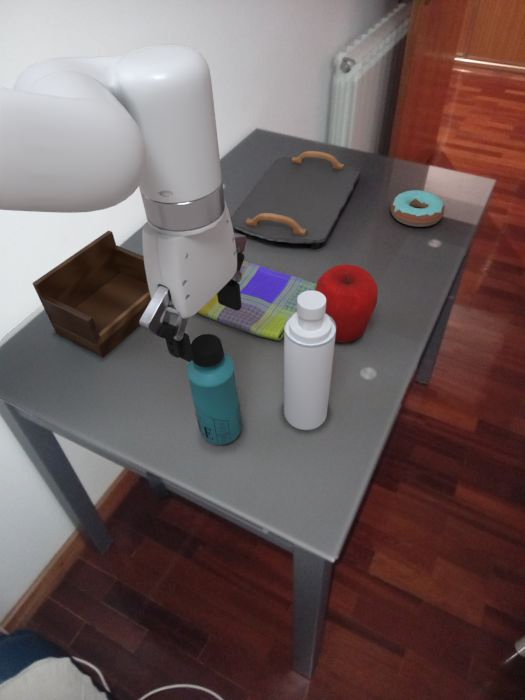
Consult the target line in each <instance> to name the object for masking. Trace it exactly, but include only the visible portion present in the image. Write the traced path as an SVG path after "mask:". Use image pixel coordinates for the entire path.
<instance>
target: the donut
mask: <svg viewBox="0 0 525 700" xmlns="http://www.w3.org/2000/svg"><path fill="white" fill-rule="evenodd" d="M390 212H391V216H393V218H394V219H396V221H397V222H399V223H401V224H403V225H405V226H409V227H412V228H413V227H414V228H425V227H430V226H433V225H435V224H437V223H438V222H440V221H441V219H442V218H443V217H444V215H445V205H444V202H443V200H442V199H441V198H440V197H439V196H437V195H436V194H435V193H432V192H429V191H426V190H419V189H411V190H406V191H403V192H400V193H398V194H397V195H396V196H395V197H394V198H393V199H392V201H391V203H390Z"/></svg>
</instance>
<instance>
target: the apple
mask: <svg viewBox="0 0 525 700" xmlns="http://www.w3.org/2000/svg"><path fill="white" fill-rule="evenodd" d="M316 284H317V286H316V290H315V291H318V292H320V293H322V294H323V295H324V296H325V297H326V311H325V313H326V314H328V315H329V316H330V317H331V318H332V319H333V320H334V322H335V324H336V335H335V342H337V343H349V342H353V341H356V340H357V339H359V338H360V337H362V336H363V334H364V333H365V332H366V330H367V328H368V325H369V324H370V320H371V318H372V315H373V313H374V310H375V308H376V306H377V303H378V295H379V290H378V284H377V282H376V281H375V280H374V278H373V276H372V275H371V273H369V272H368V271H367V270H366V269H365V268H363V267H361V266H358V265H354V264H346V263H345V264H344V263H342V264H337V265H333V267H331V268H328V269H327V270H326V271H325V272H324V273H322V274H321V276H320V277H319V278H318V279H317V282H316ZM330 320H331V319H330ZM331 321H332V320H331ZM332 322H333V321H332Z"/></svg>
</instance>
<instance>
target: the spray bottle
mask: <svg viewBox="0 0 525 700" xmlns="http://www.w3.org/2000/svg"><path fill="white" fill-rule="evenodd" d="M325 311H326V297H325V296H324V295H323V294H322V293H320V292H318V291H316V290H315V291H314V290H309V291H304V292H302V293H301V294H300V295H299V296H298V298H297V312H295V313H293V314H292V315H290V316H289V317H288V318H287V320H286V322H287V323H286V322H285V324H286V325H284V337H283V414H284V415H283V416H284V418H285V420H286V421H287V423H288V424H289V425H290V426H291V427H294V428H296V429H297V430H301V431H311V430H315V429H317V428H319V427H320V426H322V425H323V424H324V423H325V421H326V419H327V415H328V408H329V399H330V390H331V380H332V371H333V363H334V353H335V343H336V341H335V335H336V324H335V322H334V320H333V319H332V318H331V317H330V316H329V315H328V314H326V313H325ZM330 319H331V320H332V321H333V322H332V321H331V320H330Z"/></svg>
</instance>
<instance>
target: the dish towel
mask: <svg viewBox="0 0 525 700" xmlns="http://www.w3.org/2000/svg"><path fill="white" fill-rule="evenodd" d="M240 272H241V273H242V278H241V280H240V282H238V284H240V294H241V304H242V308H241V309H240V310H239V311H238V310H237V311H236V310H233V309H231V308H229V307H226V306H224V305H221V304H219V302H218V297H217V294H216V295H215V296H214V297H213V298H212V299H211V300H210V301H209V302H208V303H207V304H206V305H204V306H203V307H202V308H201V309H200V310H199V311H198V312H197V313H198V314H199V315H201V316H204V317H206V318H208V319H210V320H212V321H215V322H217V323H220V324H223V325H224V326H229V327H231V328H234V329H237V330H239V331H243V332H246V333H249V334H251V335H254V336H257V337H260V338H266V339H269V340H274V341H277V342H278V341H282V340H283V339H284V325H286V324H285V322H286V320H287V318H288V317H289V316H290V315H292V314H293V313H295V312H297V298H298V296H299V295H300V294H301V293H302V292H304V291H309V290H314V291H316V286H317V282H312V281H310V280H306V279H304V278H301V277H299V276H298V277H297V276H295V275H291V274H288V273H284V272H280V271H277V270H273V269H270V268H267V267H264V266H262V265H259V264H255V263H253V262H250V261H246V260H244V261H243V264H242V266H241V269H240ZM197 313H196V314H197ZM286 323H287V322H286Z"/></svg>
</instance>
